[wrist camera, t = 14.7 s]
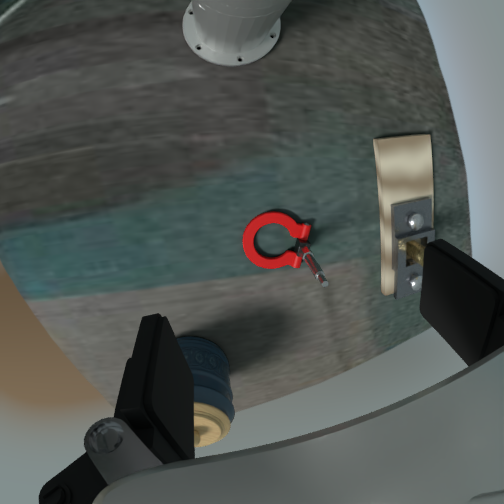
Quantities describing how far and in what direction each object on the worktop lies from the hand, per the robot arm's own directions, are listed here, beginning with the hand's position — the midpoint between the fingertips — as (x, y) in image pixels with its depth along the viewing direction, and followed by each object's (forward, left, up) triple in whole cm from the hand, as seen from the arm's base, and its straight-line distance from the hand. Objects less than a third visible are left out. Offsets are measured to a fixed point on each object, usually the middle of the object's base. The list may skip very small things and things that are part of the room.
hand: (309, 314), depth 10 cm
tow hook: (+11, +4, -34) cm, 35 cm away
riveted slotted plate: (+17, +26, -32) cm, 44 cm away
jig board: (+12, +26, -33) cm, 44 cm away
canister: (+30, -14, -34) cm, 47 cm away
